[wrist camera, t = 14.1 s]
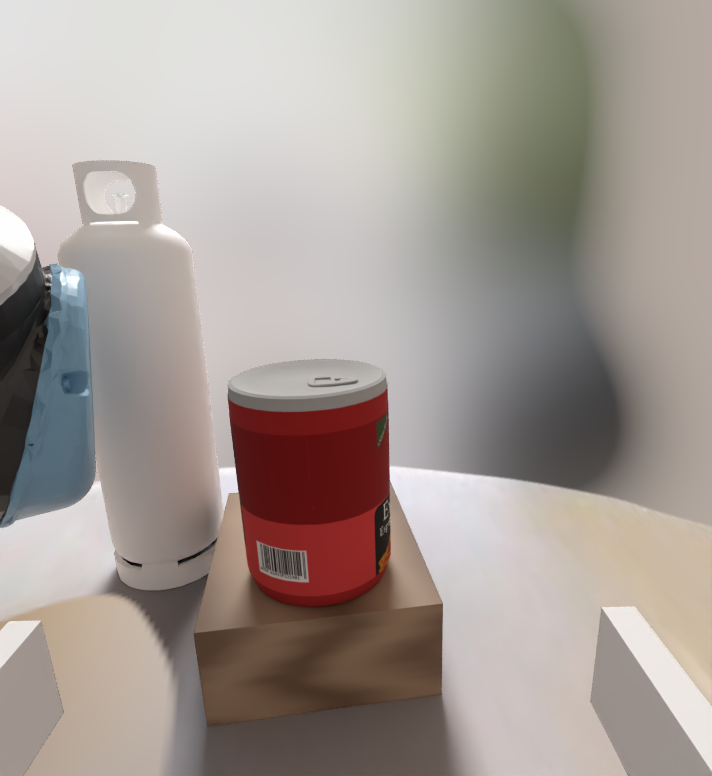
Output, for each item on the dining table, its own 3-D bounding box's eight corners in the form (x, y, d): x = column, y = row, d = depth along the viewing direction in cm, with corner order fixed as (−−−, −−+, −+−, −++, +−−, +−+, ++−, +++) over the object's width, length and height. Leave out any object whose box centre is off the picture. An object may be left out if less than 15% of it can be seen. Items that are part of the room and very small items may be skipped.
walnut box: (208, 732, 25) (193, 633, 23) (237, 564, 38) (228, 493, 37) (441, 699, 26) (442, 603, 25) (390, 547, 40) (389, 479, 38)
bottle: (233, 523, 43) (193, 174, 36) (221, 583, 35) (167, 154, 28) (135, 533, 42) (73, 176, 35) (101, 596, 34) (12, 156, 27)
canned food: (414, 589, 26) (412, 384, 23) (257, 630, 23) (233, 407, 20) (365, 517, 33) (359, 352, 30) (241, 542, 30) (221, 367, 27)
